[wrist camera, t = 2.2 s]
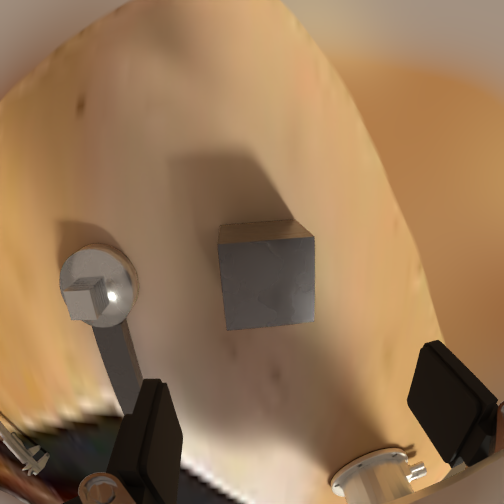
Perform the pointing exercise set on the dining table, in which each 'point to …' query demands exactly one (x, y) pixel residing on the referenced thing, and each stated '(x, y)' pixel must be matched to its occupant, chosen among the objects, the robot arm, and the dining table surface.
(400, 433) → the dining table surface
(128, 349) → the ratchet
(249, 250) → the grey stone cube
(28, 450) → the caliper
